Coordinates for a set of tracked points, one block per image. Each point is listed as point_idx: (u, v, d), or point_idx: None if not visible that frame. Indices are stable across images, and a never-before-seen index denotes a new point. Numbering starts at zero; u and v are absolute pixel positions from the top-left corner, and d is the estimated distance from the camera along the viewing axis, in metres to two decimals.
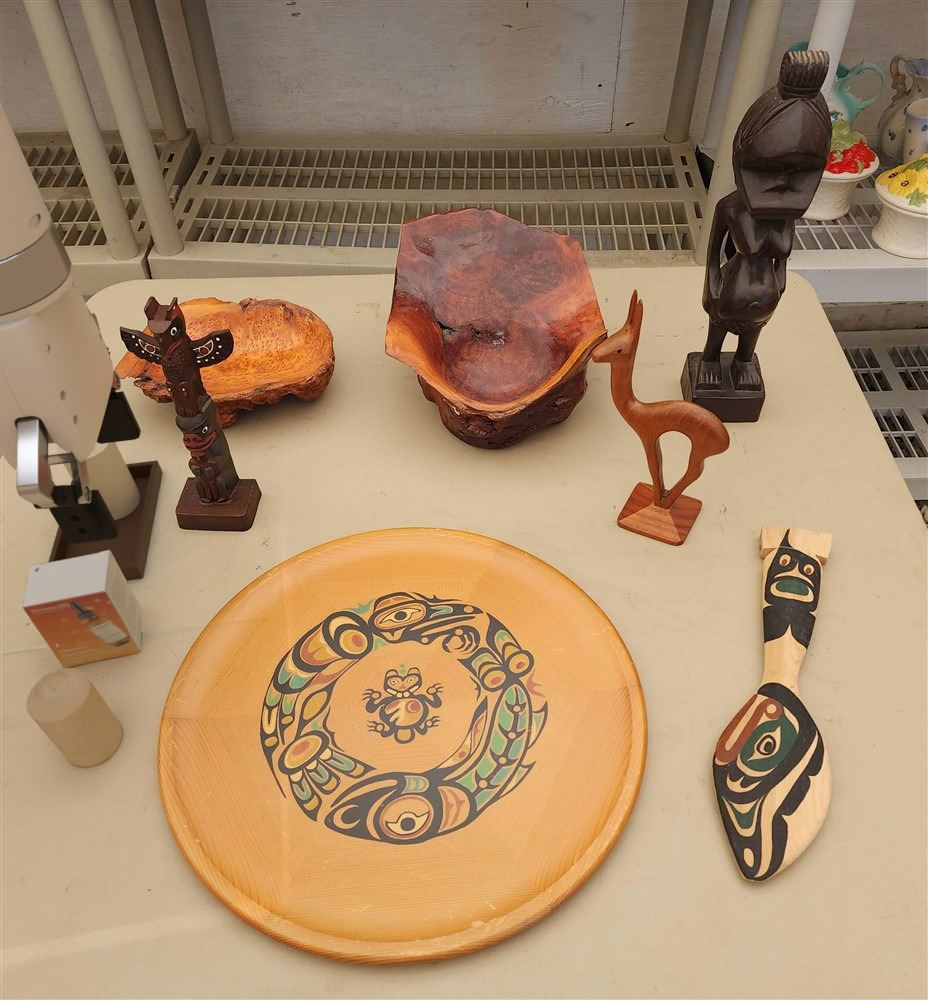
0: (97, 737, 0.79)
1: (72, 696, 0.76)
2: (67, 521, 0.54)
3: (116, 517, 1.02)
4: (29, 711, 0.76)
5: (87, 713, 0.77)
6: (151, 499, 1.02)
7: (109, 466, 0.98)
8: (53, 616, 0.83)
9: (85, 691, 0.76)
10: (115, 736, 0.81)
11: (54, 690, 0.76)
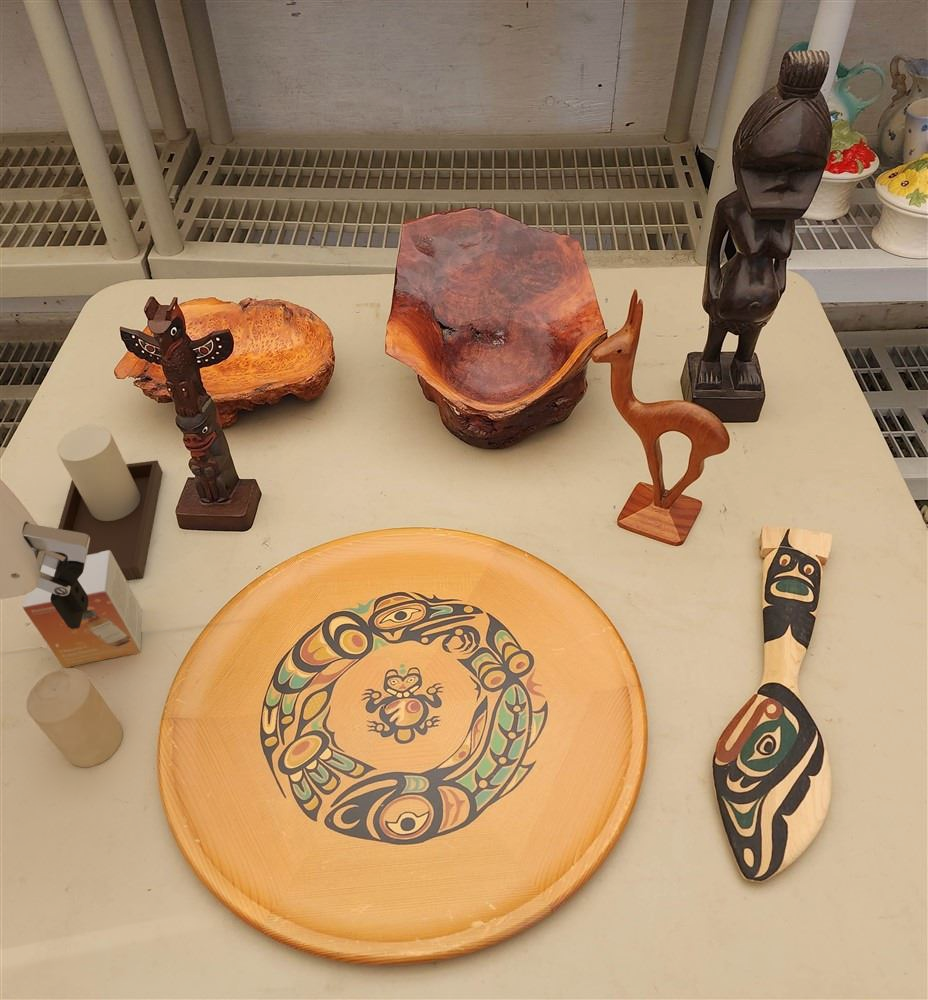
0: (97, 737, 0.79)
1: (72, 696, 0.76)
2: (76, 597, 0.67)
3: (116, 517, 1.02)
4: (29, 711, 0.76)
5: (87, 713, 0.77)
6: (151, 499, 1.02)
7: (109, 466, 0.98)
8: (53, 616, 0.83)
9: (85, 691, 0.76)
10: (115, 736, 0.81)
11: (54, 690, 0.76)
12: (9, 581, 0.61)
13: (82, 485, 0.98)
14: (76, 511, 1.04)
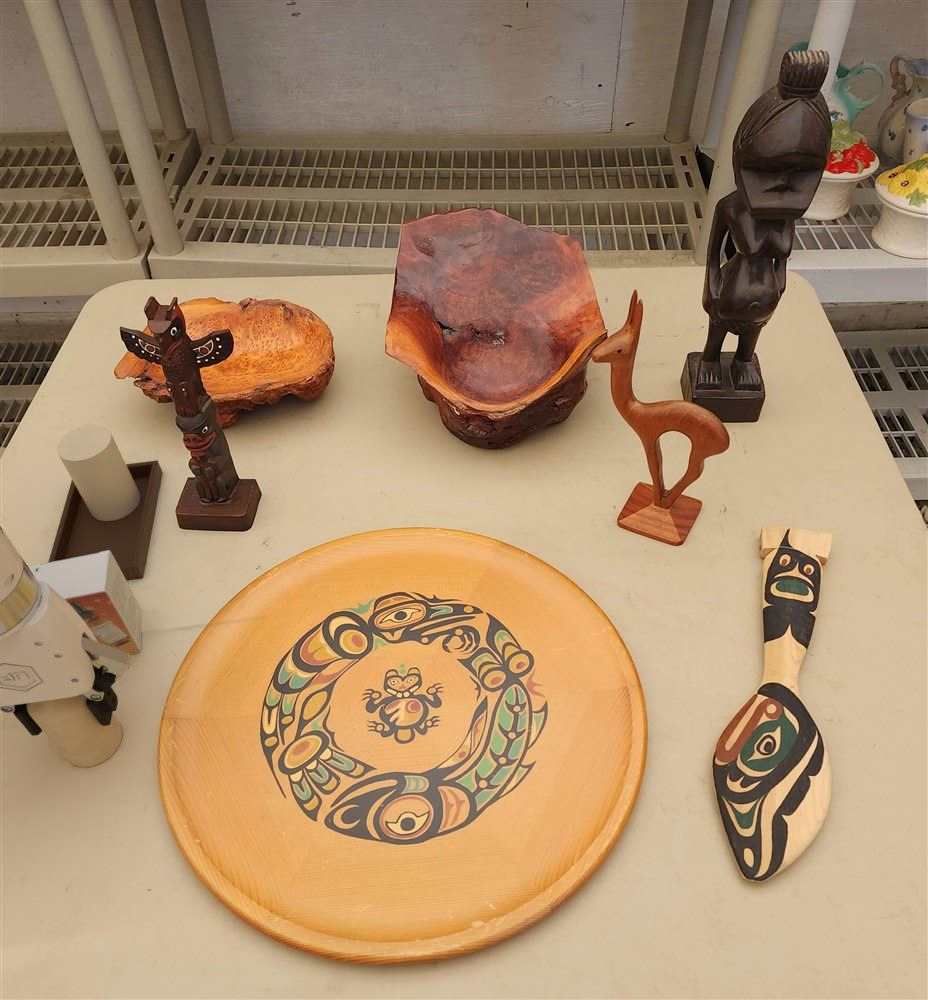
0: (97, 737, 0.79)
1: None
2: (108, 699, 0.77)
3: (116, 517, 1.02)
4: (29, 711, 0.76)
5: (87, 713, 0.77)
6: (151, 499, 1.02)
7: (109, 466, 0.98)
8: None
9: None
10: (115, 736, 0.81)
11: None
12: (69, 684, 0.71)
13: (82, 485, 0.98)
14: (76, 511, 1.04)
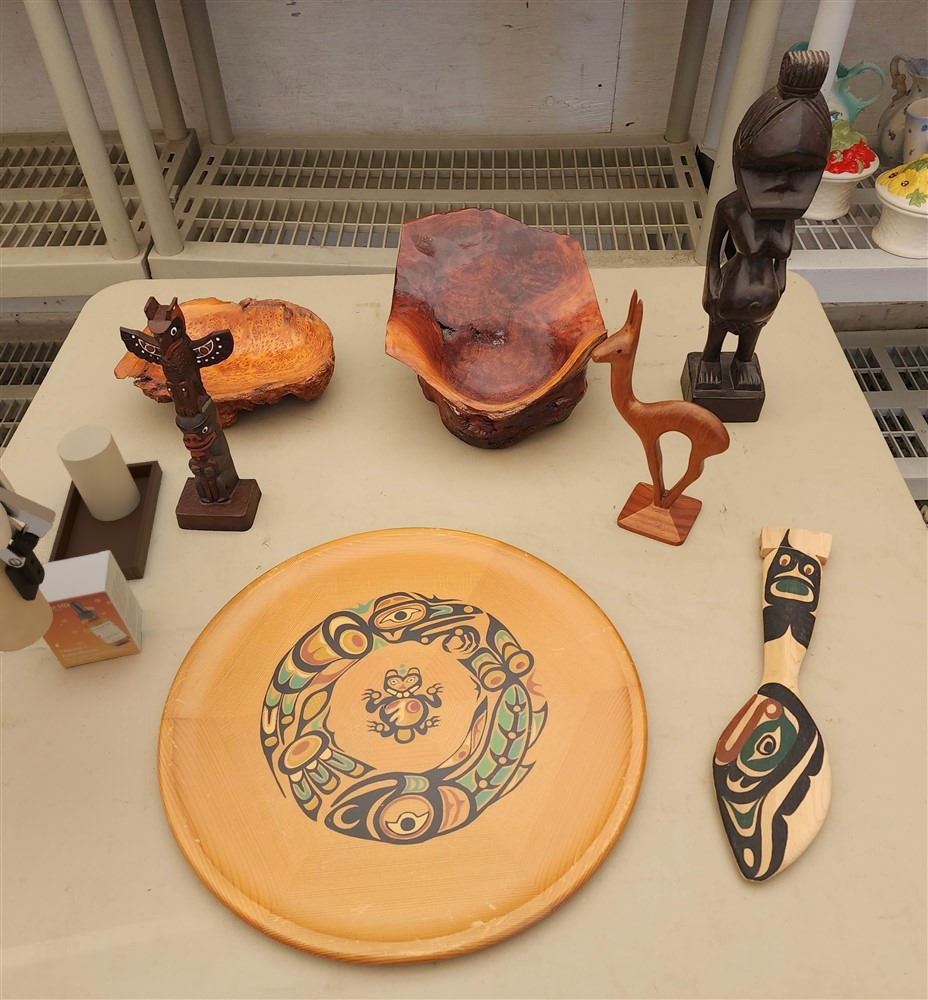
0: (20, 615, 0.69)
1: None
2: (31, 569, 0.67)
3: (116, 517, 1.02)
4: None
5: (6, 583, 0.67)
6: (151, 499, 1.02)
7: (109, 466, 0.98)
8: (53, 616, 0.83)
9: None
10: (43, 618, 0.71)
11: None
12: None
13: (82, 485, 0.98)
14: (76, 511, 1.04)
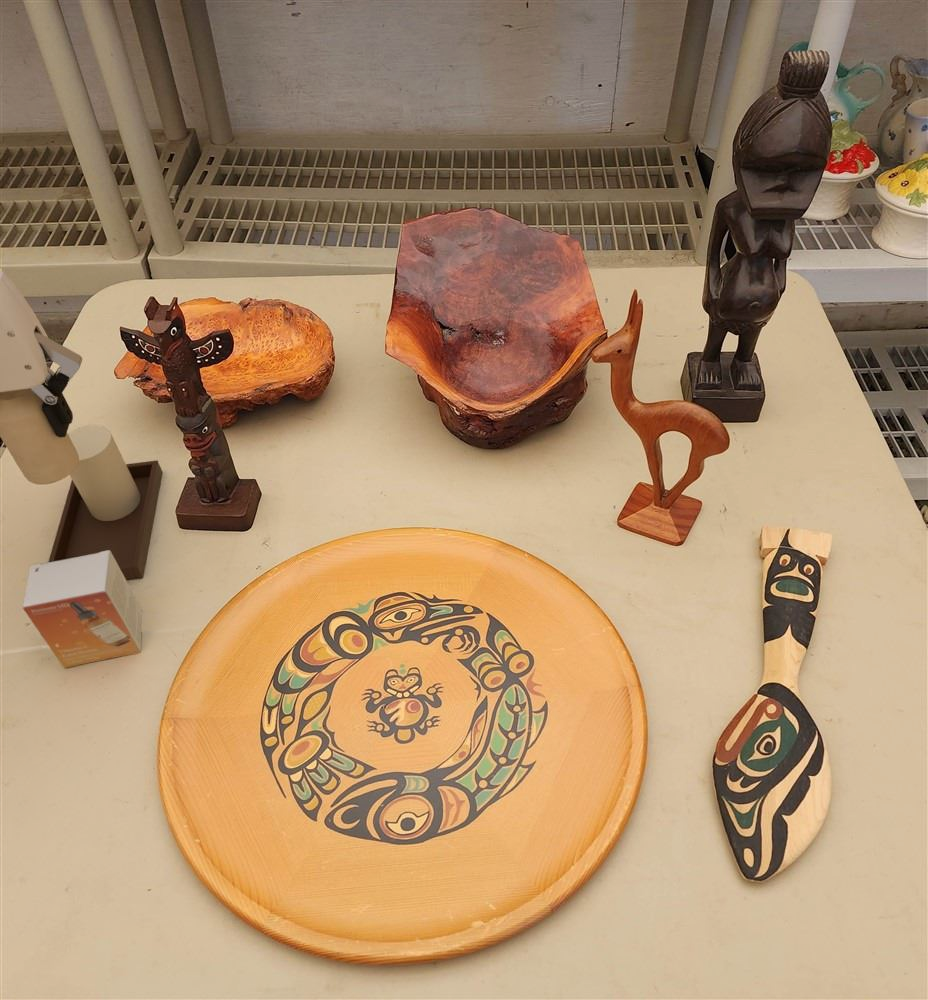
0: (53, 450, 0.84)
1: (28, 399, 0.81)
2: (62, 408, 0.83)
3: (116, 517, 1.02)
4: None
5: (42, 419, 0.82)
6: (151, 499, 1.02)
7: (109, 466, 0.98)
8: (53, 616, 0.83)
9: (40, 398, 0.82)
10: (71, 457, 0.87)
11: (12, 396, 0.82)
12: (23, 372, 0.77)
13: (82, 485, 0.98)
14: (76, 511, 1.04)
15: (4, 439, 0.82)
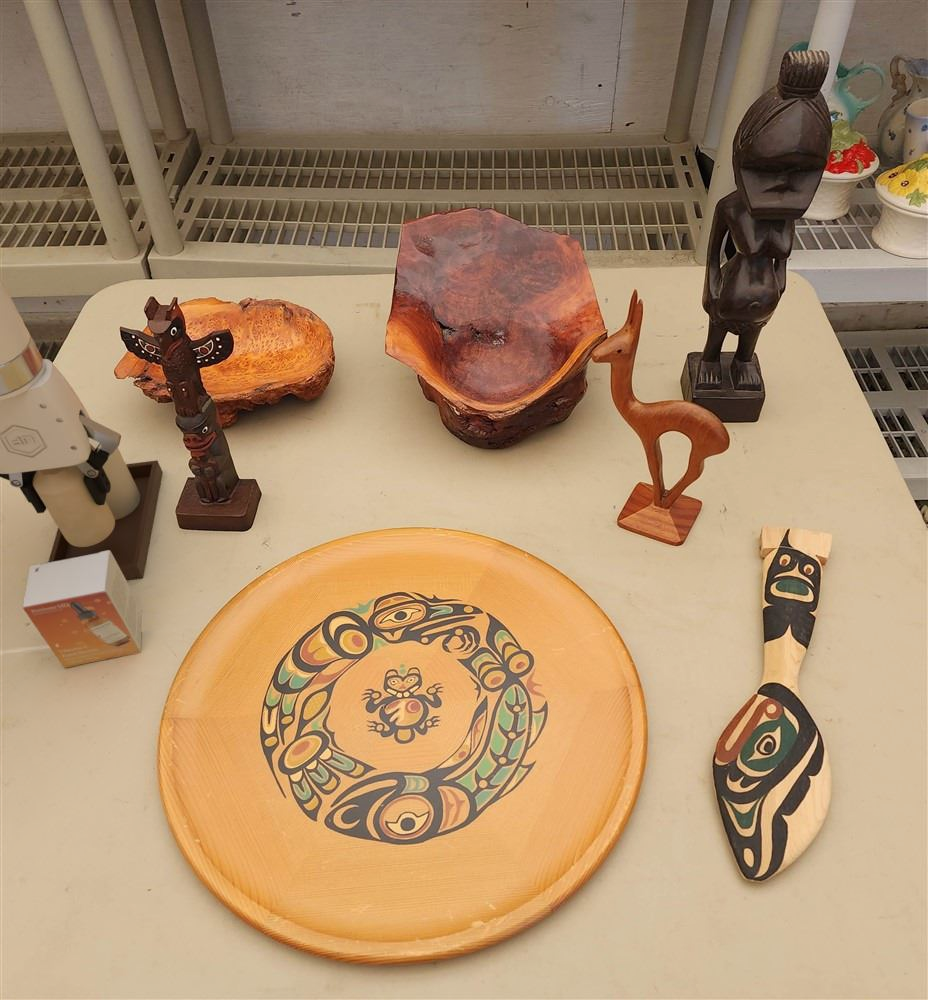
0: (93, 516, 0.92)
1: (71, 473, 0.89)
2: (102, 480, 0.90)
3: (116, 517, 1.02)
4: (35, 486, 0.89)
5: (84, 490, 0.90)
6: (151, 499, 1.02)
7: (109, 466, 0.98)
8: (53, 616, 0.83)
9: None
10: (108, 521, 0.95)
11: (56, 470, 0.89)
12: (69, 452, 0.84)
13: None
14: None
15: (49, 508, 0.90)
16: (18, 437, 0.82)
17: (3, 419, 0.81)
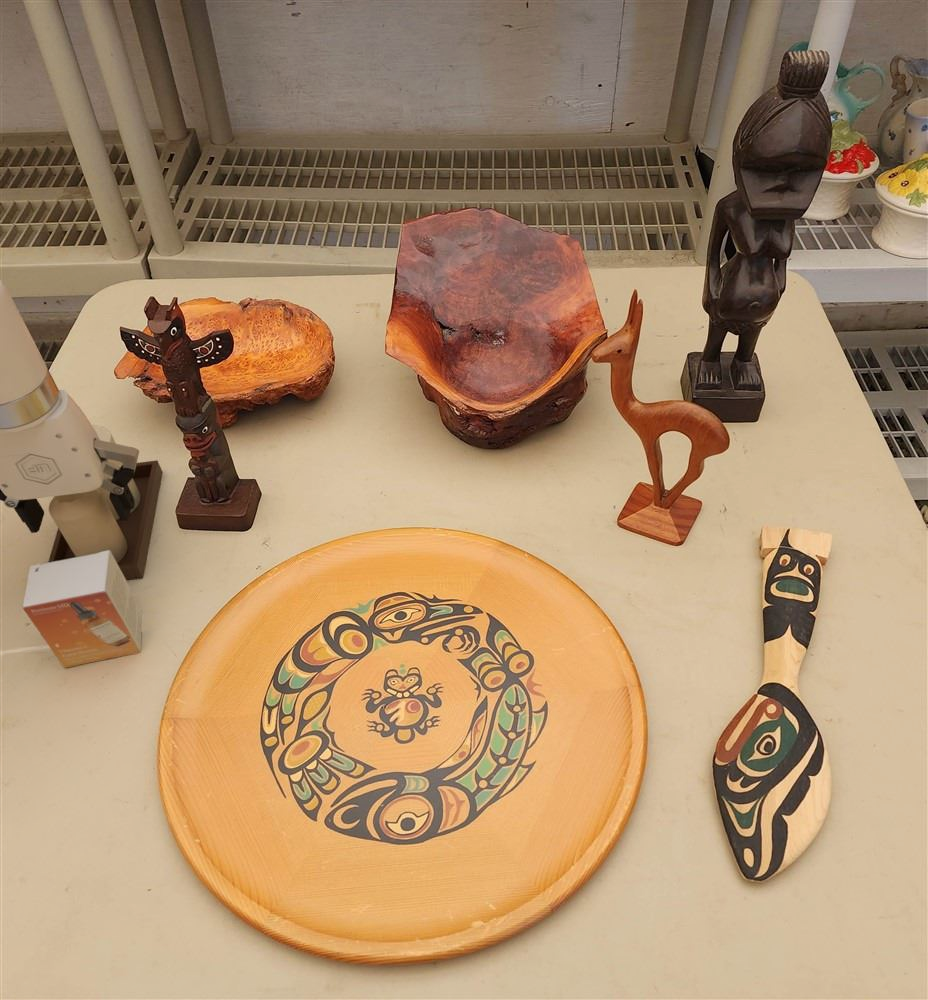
0: (107, 542, 0.95)
1: (86, 501, 0.92)
2: (127, 497, 0.92)
3: (116, 517, 1.02)
4: (51, 513, 0.92)
5: (98, 517, 0.93)
6: (151, 499, 1.02)
7: None
8: (53, 616, 0.83)
9: (97, 498, 0.93)
10: (121, 546, 0.97)
11: (72, 497, 0.92)
12: (83, 479, 0.87)
13: None
14: None
15: (64, 534, 0.93)
16: (34, 465, 0.85)
17: (20, 448, 0.83)
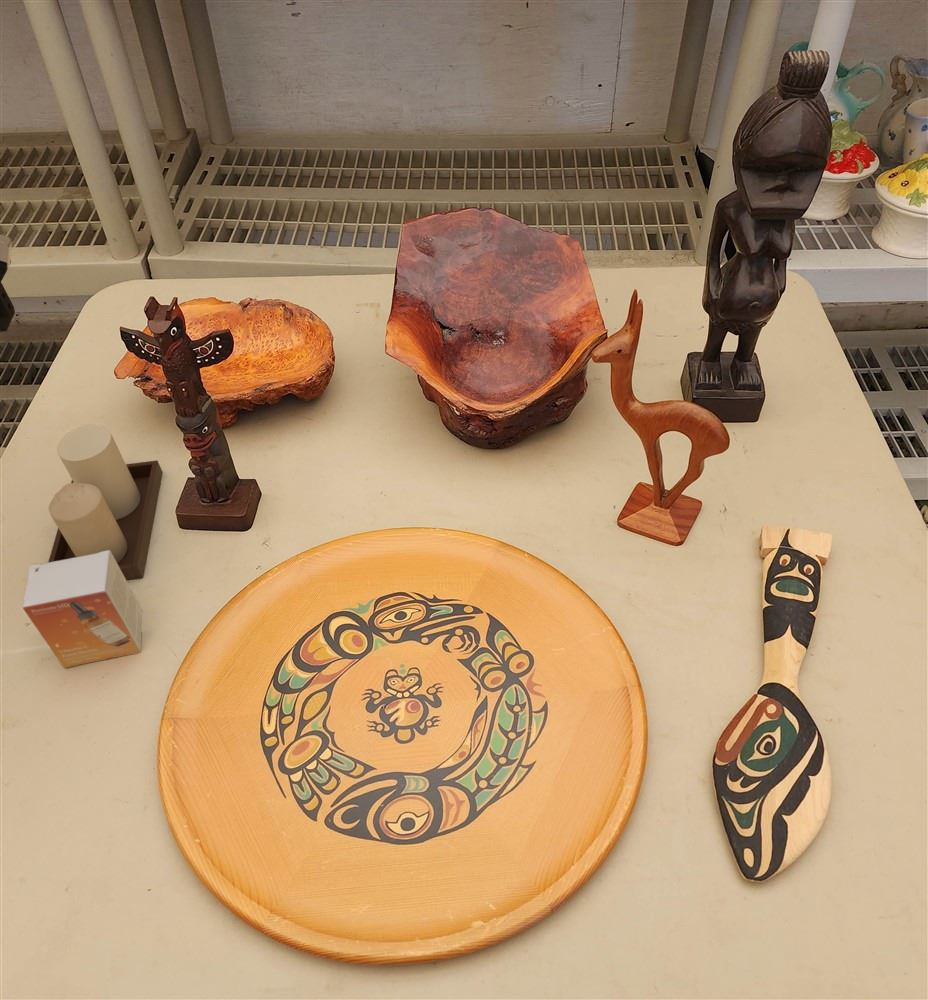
0: (107, 542, 0.95)
1: (86, 501, 0.92)
2: (3, 300, 0.80)
3: (116, 517, 1.02)
4: (51, 513, 0.92)
5: (98, 517, 0.93)
6: (151, 499, 1.02)
7: (109, 466, 0.98)
8: (53, 616, 0.83)
9: (97, 498, 0.93)
10: (121, 546, 0.97)
11: (72, 497, 0.92)
12: None
13: None
14: None
15: (64, 534, 0.93)
16: None
17: None
